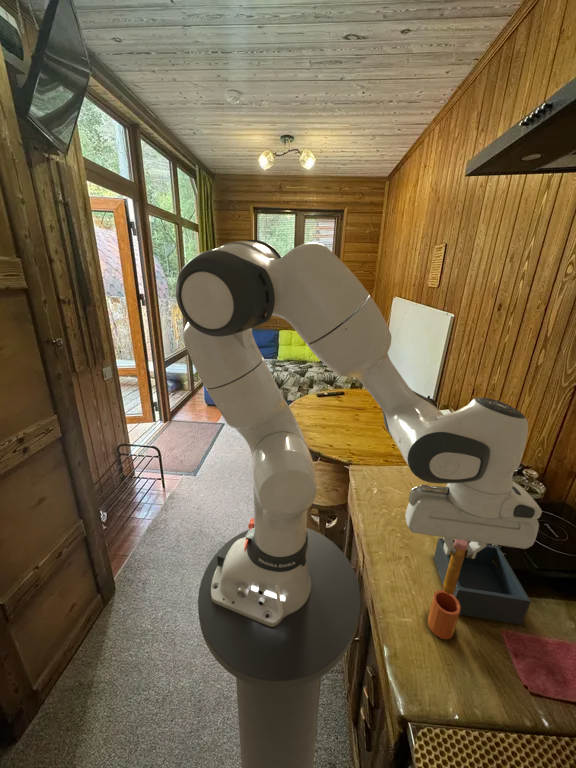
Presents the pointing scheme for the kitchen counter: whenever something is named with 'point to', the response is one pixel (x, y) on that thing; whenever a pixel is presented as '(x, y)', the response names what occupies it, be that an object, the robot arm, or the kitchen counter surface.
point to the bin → (486, 585)
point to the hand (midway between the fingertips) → (458, 553)
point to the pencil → (455, 566)
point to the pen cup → (443, 614)
